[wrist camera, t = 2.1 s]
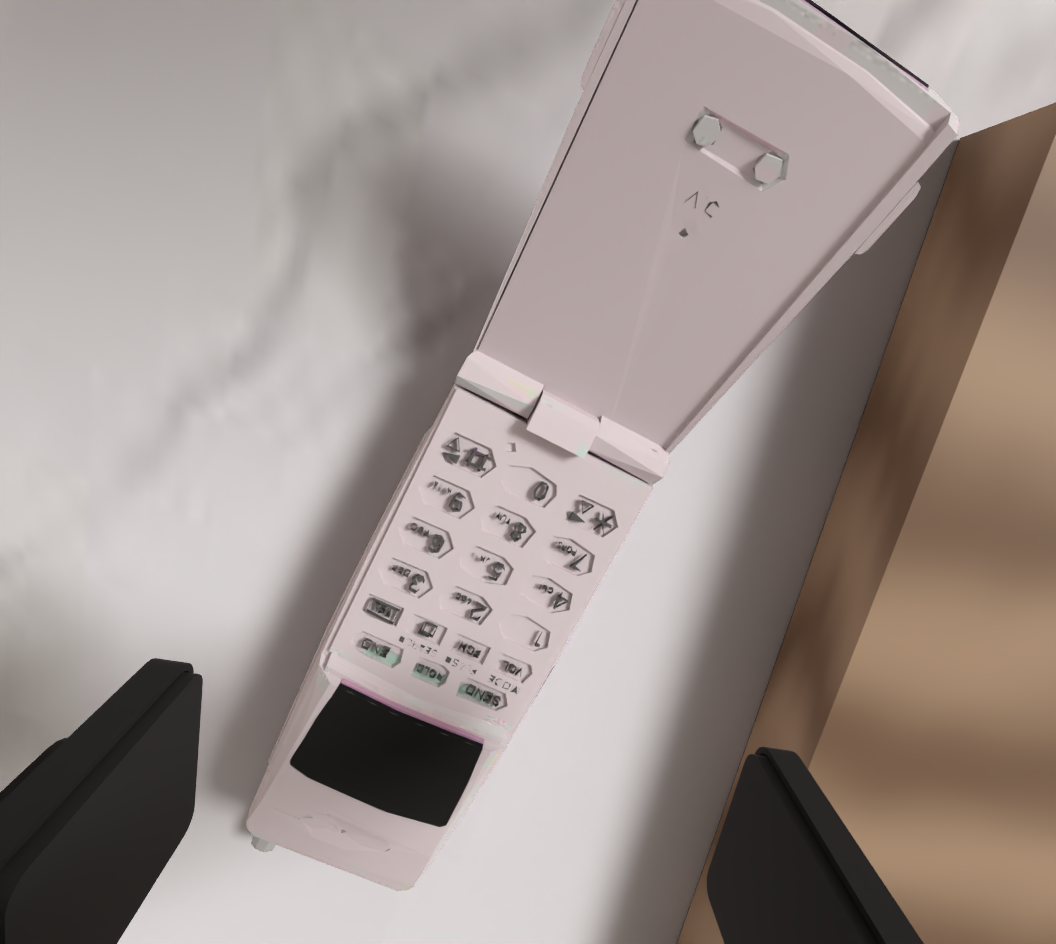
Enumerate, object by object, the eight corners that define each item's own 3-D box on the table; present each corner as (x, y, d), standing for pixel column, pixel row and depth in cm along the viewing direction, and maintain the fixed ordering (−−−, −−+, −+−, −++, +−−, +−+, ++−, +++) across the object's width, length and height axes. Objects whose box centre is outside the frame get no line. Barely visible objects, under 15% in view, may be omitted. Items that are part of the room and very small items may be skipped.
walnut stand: (959, 138, 14) (1070, 97, 12) (1457, 254, 15) (1672, 243, 13) (656, 1001, 22) (677, 1104, 20) (997, 1042, 23) (1064, 1145, 21)
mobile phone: (991, 102, 9) (361, 1086, 15) (812, 182, 15) (405, 872, 21) (662, -117, 8) (130, 1010, 14) (605, 55, 14) (242, 809, 20)
